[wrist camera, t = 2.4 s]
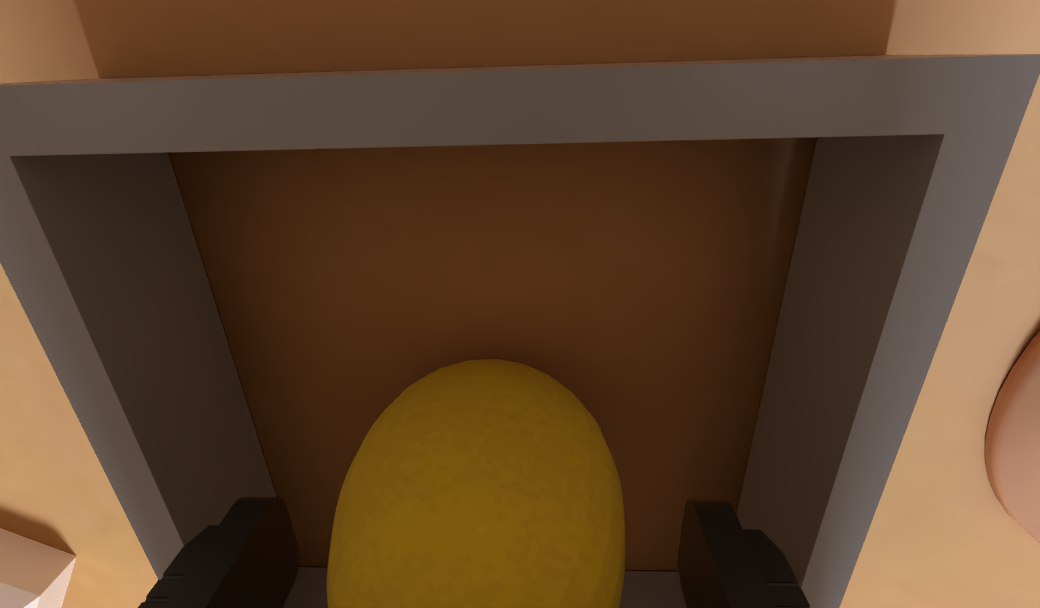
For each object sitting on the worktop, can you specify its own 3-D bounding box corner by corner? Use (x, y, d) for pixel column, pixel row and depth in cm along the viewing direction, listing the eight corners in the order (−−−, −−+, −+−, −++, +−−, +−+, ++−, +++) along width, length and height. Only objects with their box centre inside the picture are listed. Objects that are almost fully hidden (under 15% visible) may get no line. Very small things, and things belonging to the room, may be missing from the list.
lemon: (519, 259, 12) (488, 554, 5) (640, 414, 14) (746, 793, 7) (353, 372, 14) (146, 722, 7) (481, 498, 16) (430, 879, 8)
